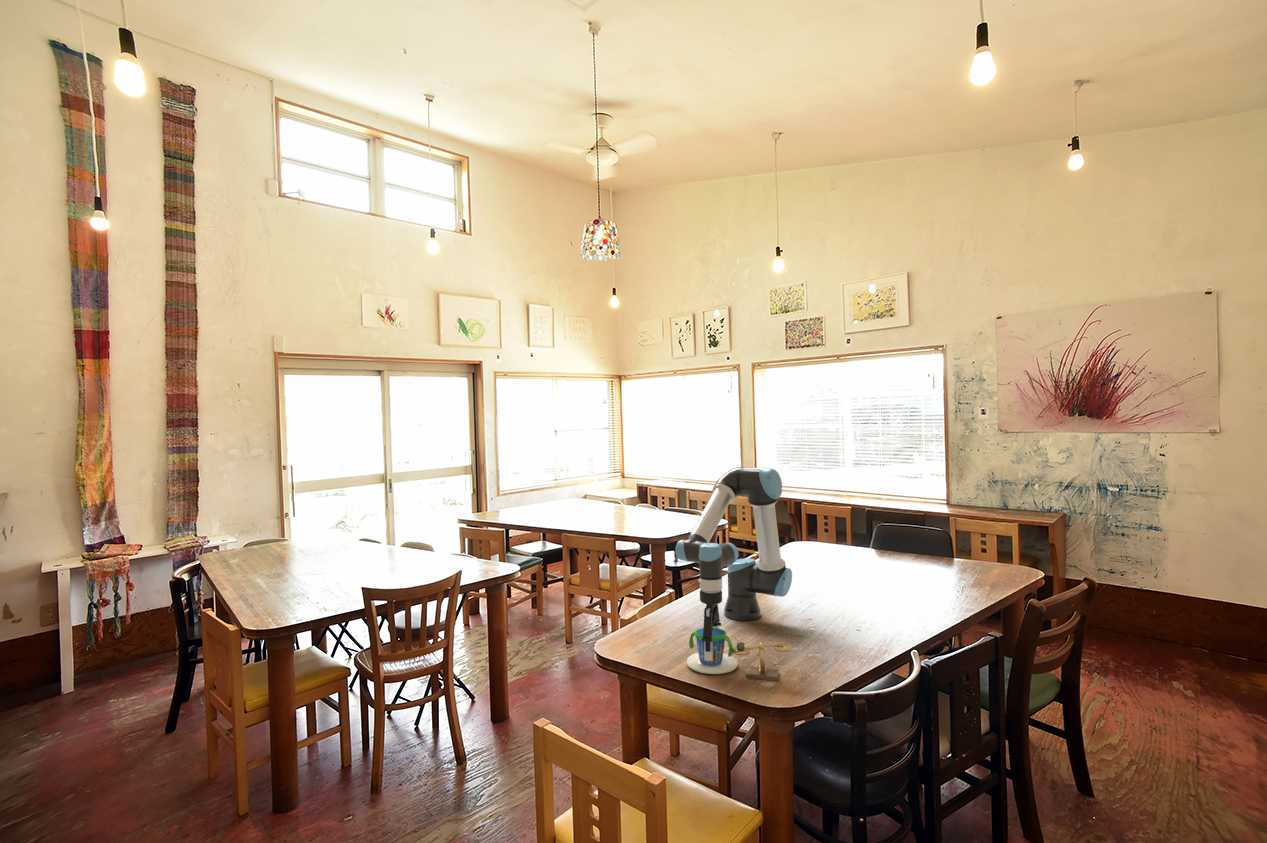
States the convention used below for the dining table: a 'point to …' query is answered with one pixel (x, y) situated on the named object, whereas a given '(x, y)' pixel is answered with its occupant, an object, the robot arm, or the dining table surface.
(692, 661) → the dish
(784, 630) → the dining table surface
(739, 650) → the balance
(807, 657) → the dining table surface
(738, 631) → the dining table surface
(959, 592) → the dining table surface
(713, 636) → the snack cup
